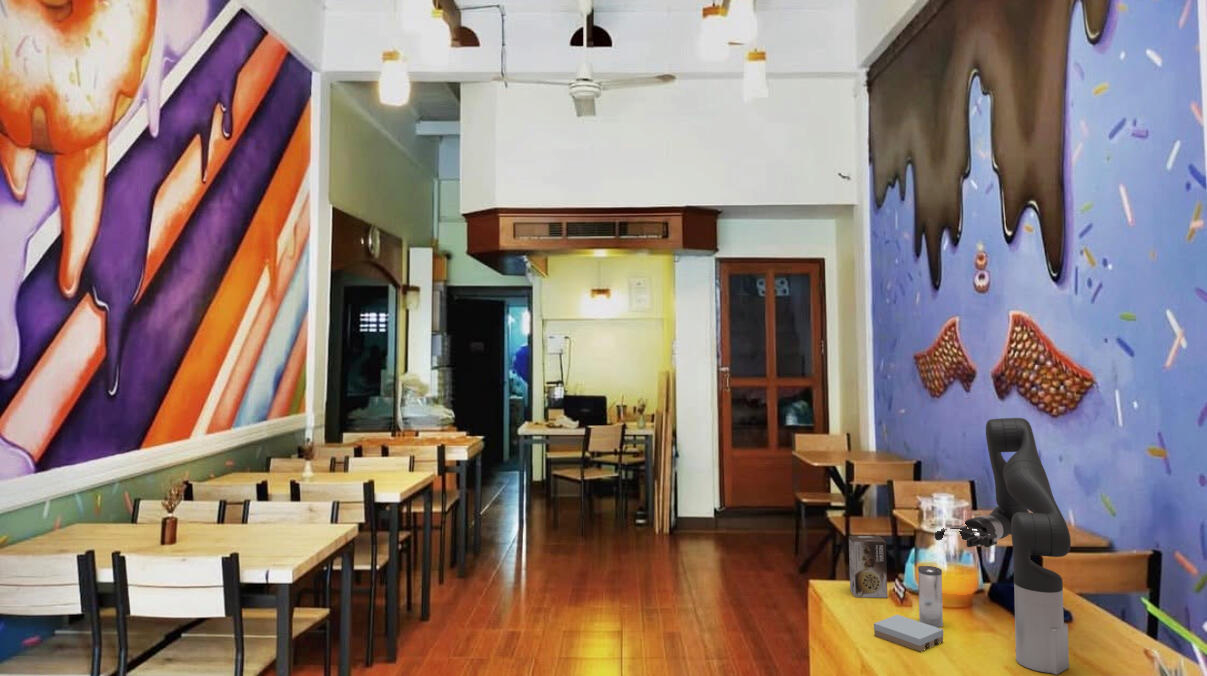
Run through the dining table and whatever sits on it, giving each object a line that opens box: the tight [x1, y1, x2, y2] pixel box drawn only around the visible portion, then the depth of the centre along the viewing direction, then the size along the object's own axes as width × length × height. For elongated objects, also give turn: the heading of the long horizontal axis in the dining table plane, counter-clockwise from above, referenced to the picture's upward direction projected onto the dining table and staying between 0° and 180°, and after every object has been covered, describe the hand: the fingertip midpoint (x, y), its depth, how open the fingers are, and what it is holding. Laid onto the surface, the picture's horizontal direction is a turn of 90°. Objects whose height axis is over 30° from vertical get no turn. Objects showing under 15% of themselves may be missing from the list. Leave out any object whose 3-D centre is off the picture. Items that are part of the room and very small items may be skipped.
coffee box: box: [848, 535, 888, 599], centre depth 201 cm, size 9×6×16 cm
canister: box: [917, 565, 944, 628], centre depth 178 cm, size 6×6×14 cm
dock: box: [873, 614, 944, 652], centre depth 169 cm, size 12×10×3 cm
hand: (952, 539), depth 185 cm, fingers open, 8 cm apart
